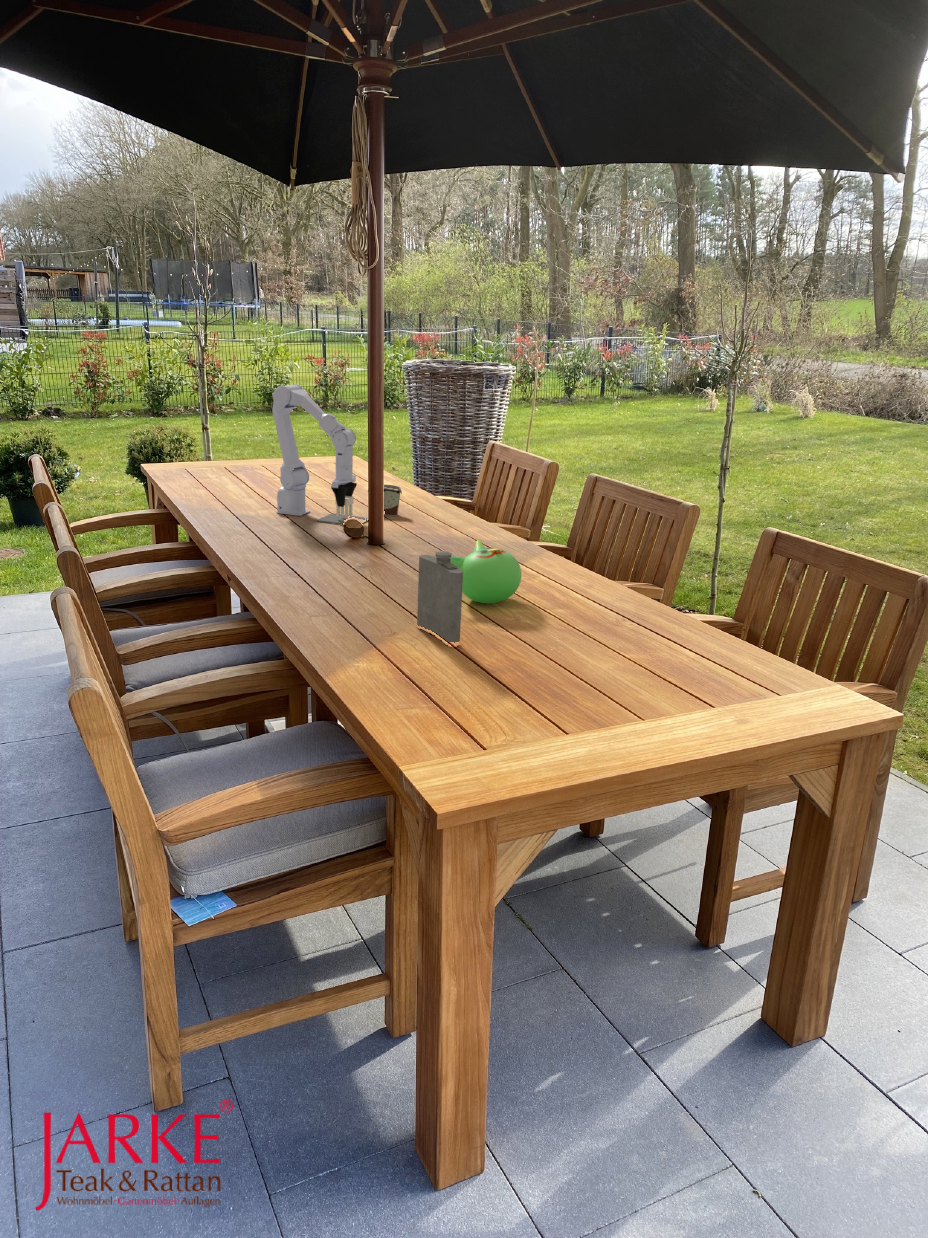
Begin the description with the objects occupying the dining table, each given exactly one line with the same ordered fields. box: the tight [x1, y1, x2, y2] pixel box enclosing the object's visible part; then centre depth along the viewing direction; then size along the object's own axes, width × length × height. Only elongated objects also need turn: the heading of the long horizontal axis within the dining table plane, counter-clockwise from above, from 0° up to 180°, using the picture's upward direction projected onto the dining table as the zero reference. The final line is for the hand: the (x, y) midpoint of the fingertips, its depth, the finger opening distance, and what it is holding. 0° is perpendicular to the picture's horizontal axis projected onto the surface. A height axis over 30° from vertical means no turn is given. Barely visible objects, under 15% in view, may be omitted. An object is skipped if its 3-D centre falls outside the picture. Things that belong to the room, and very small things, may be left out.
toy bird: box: [450, 539, 522, 604], centre depth 231 cm, size 18×17×15 cm
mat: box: [315, 512, 368, 526], centre depth 310 cm, size 15×12×1 cm
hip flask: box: [416, 550, 463, 643], centre depth 204 cm, size 16×4×20 cm, turn 33°
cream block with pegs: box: [334, 495, 355, 517], centre depth 308 cm, size 5×5×6 cm
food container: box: [367, 484, 403, 517], centre depth 322 cm, size 12×6×10 cm, turn 84°
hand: (344, 505), depth 308 cm, fingers closed on cream block with pegs, 4 cm apart
